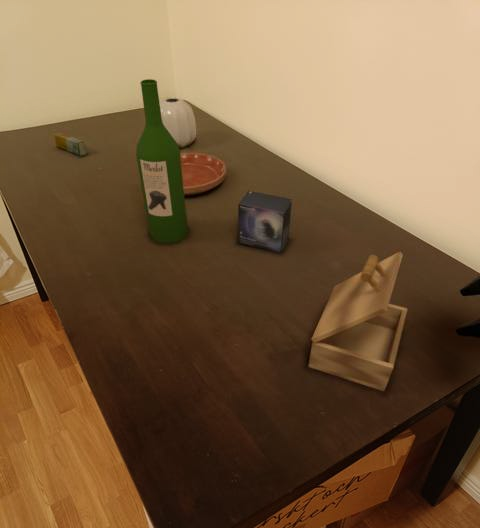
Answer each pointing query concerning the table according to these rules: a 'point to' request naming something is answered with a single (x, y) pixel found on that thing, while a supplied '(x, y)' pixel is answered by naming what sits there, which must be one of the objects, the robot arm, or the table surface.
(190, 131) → the vase
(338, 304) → the chest lid
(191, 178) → the saucer
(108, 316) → the table surface
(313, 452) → the table surface
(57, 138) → the medication box
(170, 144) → the wine bottle
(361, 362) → the chest
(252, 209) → the small box
